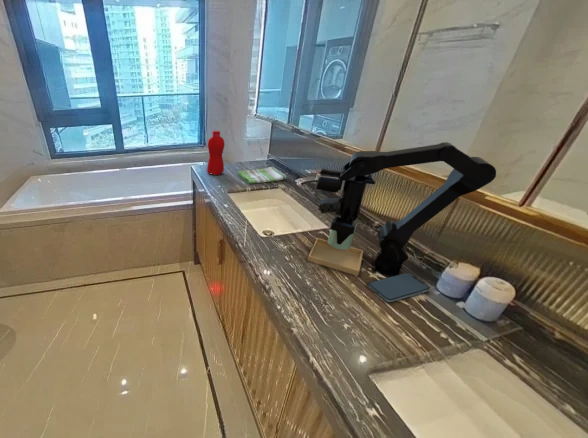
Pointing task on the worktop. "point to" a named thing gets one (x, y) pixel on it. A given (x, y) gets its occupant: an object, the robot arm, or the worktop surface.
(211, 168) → the water bottle
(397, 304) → the worktop surface
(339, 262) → the tray
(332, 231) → the cup
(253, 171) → the dish towel
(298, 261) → the worktop surface
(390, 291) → the smartphone
